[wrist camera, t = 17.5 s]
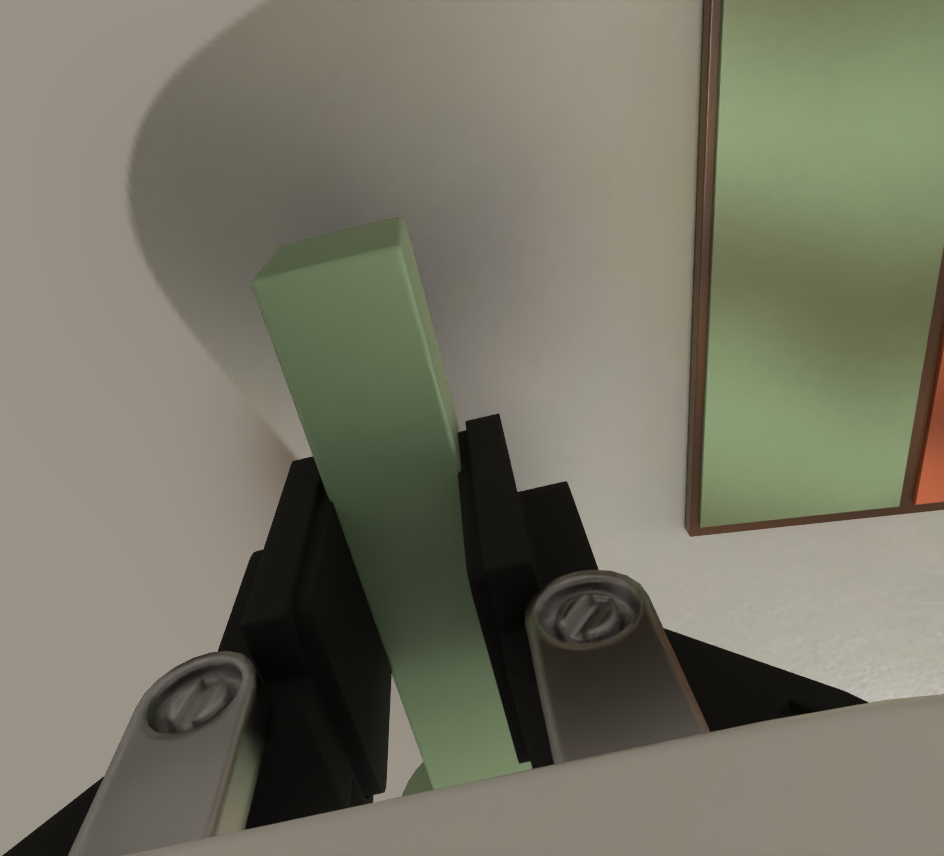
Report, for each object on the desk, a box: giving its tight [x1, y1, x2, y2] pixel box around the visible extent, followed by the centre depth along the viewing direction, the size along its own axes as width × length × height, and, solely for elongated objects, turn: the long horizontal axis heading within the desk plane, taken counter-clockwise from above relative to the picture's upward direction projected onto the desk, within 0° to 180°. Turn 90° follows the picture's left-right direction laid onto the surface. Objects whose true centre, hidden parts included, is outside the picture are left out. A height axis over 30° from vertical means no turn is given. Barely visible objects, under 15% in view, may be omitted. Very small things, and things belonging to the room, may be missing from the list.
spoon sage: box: [252, 217, 532, 796], centre depth 13 cm, size 14×5×2 cm, turn 13°
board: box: [685, 0, 944, 537], centre depth 25 cm, size 18×16×1 cm
